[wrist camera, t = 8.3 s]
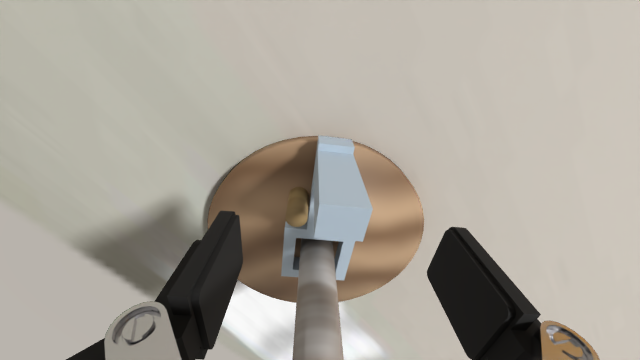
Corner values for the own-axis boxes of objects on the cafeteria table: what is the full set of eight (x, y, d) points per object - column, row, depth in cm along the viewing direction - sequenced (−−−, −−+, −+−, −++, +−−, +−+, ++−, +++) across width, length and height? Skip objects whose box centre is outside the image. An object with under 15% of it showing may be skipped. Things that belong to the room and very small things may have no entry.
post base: (421, 277, 27) (491, 428, 16) (259, 305, 29) (228, 455, 18) (413, 107, 17) (578, 208, 6) (169, 169, 19) (-12, 321, 8)
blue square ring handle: (342, 267, 23) (353, 352, 17) (283, 263, 23) (270, 349, 16) (376, 142, 17) (415, 203, 10) (292, 132, 16) (278, 190, 10)
